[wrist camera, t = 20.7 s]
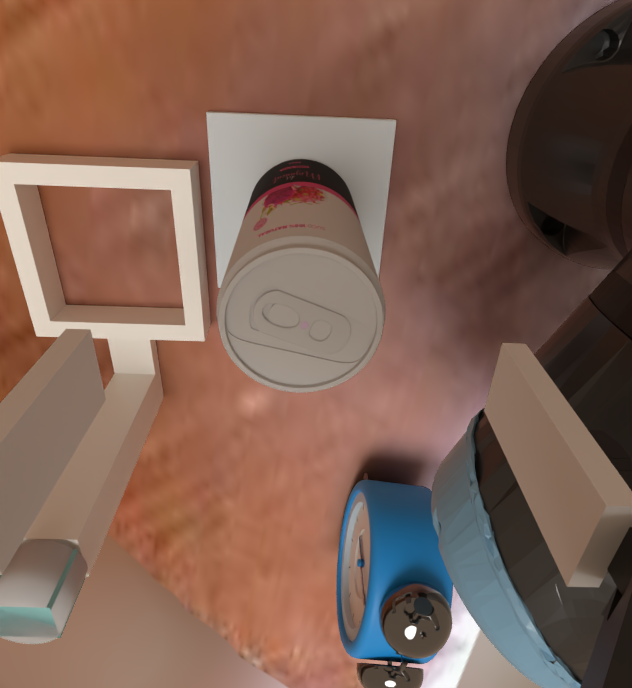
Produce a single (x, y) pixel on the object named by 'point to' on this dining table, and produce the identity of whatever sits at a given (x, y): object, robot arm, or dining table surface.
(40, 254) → the grey frame with post
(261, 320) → the beverage can
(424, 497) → the alarm clock
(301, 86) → the dining table surface
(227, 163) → the mat
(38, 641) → the bar
